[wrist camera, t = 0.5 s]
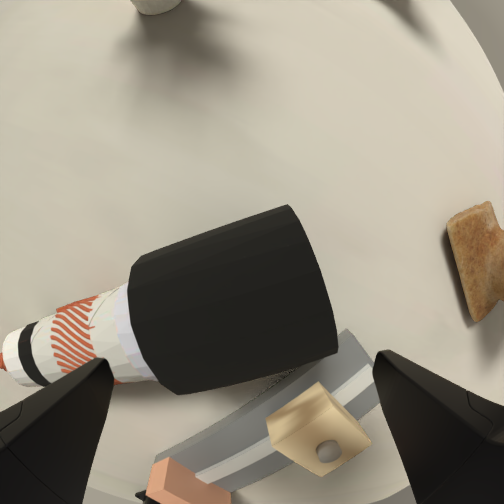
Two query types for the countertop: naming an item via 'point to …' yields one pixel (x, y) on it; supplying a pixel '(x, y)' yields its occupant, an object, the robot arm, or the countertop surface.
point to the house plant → (154, 6)
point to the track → (257, 432)
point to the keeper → (316, 431)
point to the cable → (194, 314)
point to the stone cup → (478, 257)
